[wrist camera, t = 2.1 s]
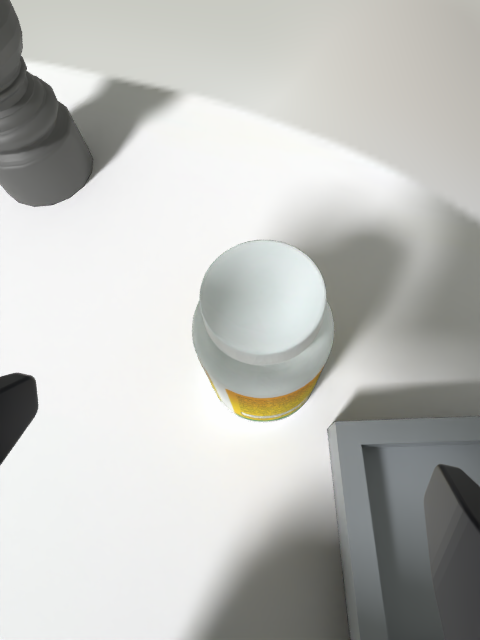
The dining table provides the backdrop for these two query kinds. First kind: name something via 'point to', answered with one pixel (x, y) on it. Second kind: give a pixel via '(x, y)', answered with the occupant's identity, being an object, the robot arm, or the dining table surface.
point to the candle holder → (35, 129)
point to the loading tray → (393, 517)
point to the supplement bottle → (263, 329)
